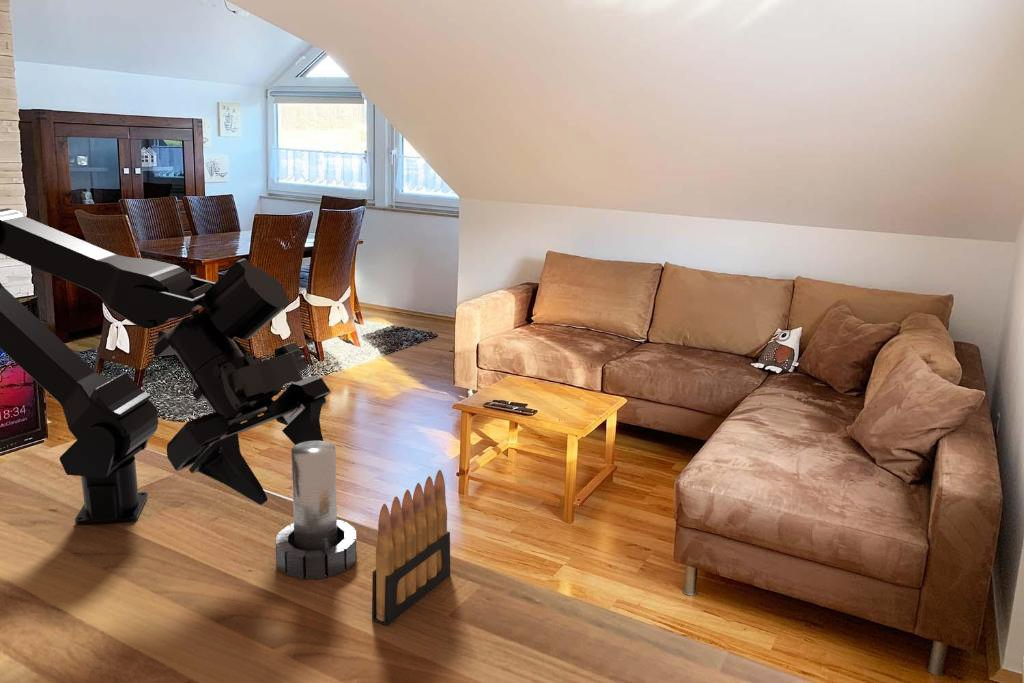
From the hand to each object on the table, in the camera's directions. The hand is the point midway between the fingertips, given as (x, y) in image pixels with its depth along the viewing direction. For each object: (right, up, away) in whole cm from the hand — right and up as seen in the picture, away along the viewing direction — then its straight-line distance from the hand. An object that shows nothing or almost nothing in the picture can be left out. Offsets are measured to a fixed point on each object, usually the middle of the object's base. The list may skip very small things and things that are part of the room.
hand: (296, 485), depth 90 cm
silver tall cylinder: (+2, -8, +1) cm, 8 cm away
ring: (+2, -8, +1) cm, 8 cm away
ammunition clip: (+13, -10, -5) cm, 17 cm away
